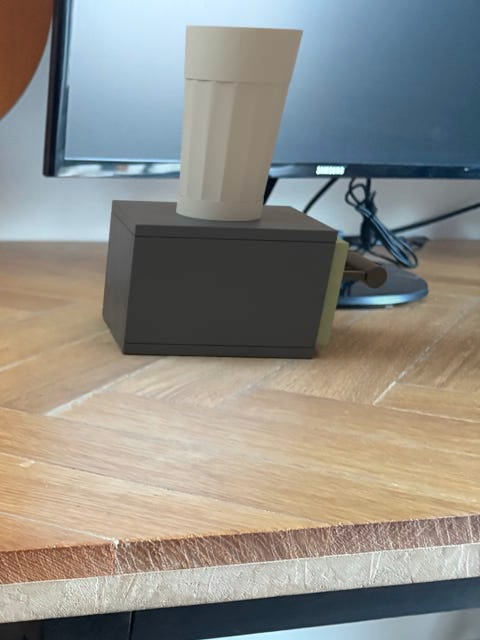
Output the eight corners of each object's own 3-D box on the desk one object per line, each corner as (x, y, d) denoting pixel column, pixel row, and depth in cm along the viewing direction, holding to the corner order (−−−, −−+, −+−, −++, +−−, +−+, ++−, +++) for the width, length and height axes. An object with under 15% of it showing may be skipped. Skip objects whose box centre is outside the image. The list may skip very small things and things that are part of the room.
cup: (294, 219, 74) (328, 31, 68) (218, 225, 70) (246, 26, 64) (218, 203, 80) (242, 28, 73) (143, 209, 76) (162, 24, 70)
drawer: (337, 313, 84) (357, 221, 81) (383, 346, 76) (408, 245, 72) (130, 307, 83) (140, 214, 80) (152, 340, 75) (164, 237, 71)
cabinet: (270, 320, 85) (290, 205, 80) (313, 358, 75) (339, 230, 71) (101, 315, 84) (112, 199, 80) (122, 354, 74) (135, 224, 70)
